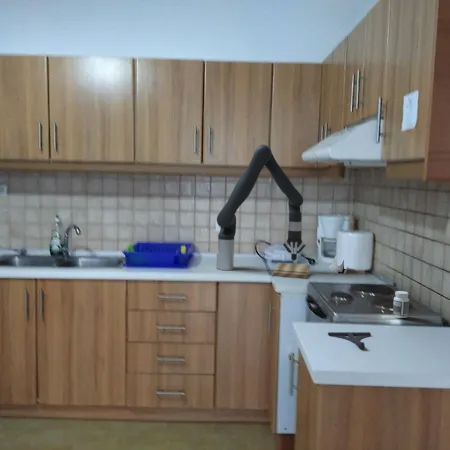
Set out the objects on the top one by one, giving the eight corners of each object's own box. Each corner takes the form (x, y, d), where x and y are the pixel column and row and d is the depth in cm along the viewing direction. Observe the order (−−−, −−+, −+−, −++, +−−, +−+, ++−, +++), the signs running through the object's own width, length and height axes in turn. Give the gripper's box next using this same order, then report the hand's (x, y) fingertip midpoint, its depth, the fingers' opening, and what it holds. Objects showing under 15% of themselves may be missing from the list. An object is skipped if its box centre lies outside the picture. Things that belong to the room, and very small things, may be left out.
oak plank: (275, 273, 270) (275, 270, 269) (277, 265, 275) (277, 262, 274) (307, 275, 265) (307, 272, 264) (309, 267, 270) (309, 265, 269)
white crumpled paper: (328, 267, 290) (334, 252, 289) (335, 270, 290) (341, 254, 290) (337, 273, 273) (343, 256, 273) (344, 276, 274) (351, 259, 273)
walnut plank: (272, 276, 262) (272, 272, 261) (274, 273, 268) (274, 269, 268) (305, 278, 257) (306, 274, 256) (307, 276, 263) (307, 272, 263)
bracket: (340, 352, 152) (340, 343, 152) (327, 336, 167) (328, 328, 167) (385, 352, 153) (385, 343, 153) (368, 336, 168) (369, 328, 167)
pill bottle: (405, 315, 193) (406, 290, 191) (410, 319, 187) (412, 294, 186) (390, 314, 193) (392, 290, 192) (395, 319, 187) (396, 293, 186)
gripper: (281, 229, 269) (280, 260, 270) (305, 230, 265) (304, 262, 267) (284, 228, 276) (283, 258, 278) (307, 229, 272) (306, 260, 274)
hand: (293, 260), depth 272 cm, fingers closed
